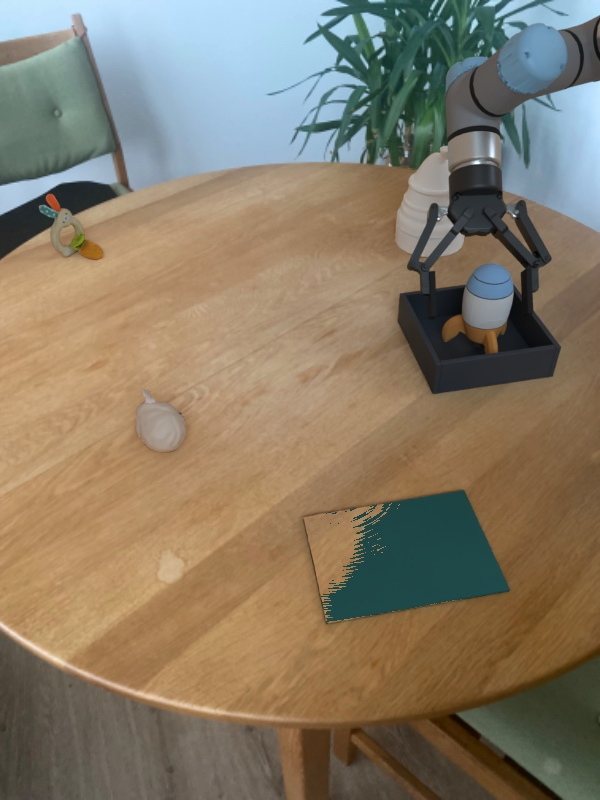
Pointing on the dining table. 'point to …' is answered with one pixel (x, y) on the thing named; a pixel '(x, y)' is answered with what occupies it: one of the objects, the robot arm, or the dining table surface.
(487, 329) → the toy rocket
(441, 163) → the honey pot
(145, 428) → the garlic bulb
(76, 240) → the rattle
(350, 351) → the dining table surface
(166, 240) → the dining table surface
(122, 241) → the dining table surface
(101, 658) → the dining table surface
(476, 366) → the tub
